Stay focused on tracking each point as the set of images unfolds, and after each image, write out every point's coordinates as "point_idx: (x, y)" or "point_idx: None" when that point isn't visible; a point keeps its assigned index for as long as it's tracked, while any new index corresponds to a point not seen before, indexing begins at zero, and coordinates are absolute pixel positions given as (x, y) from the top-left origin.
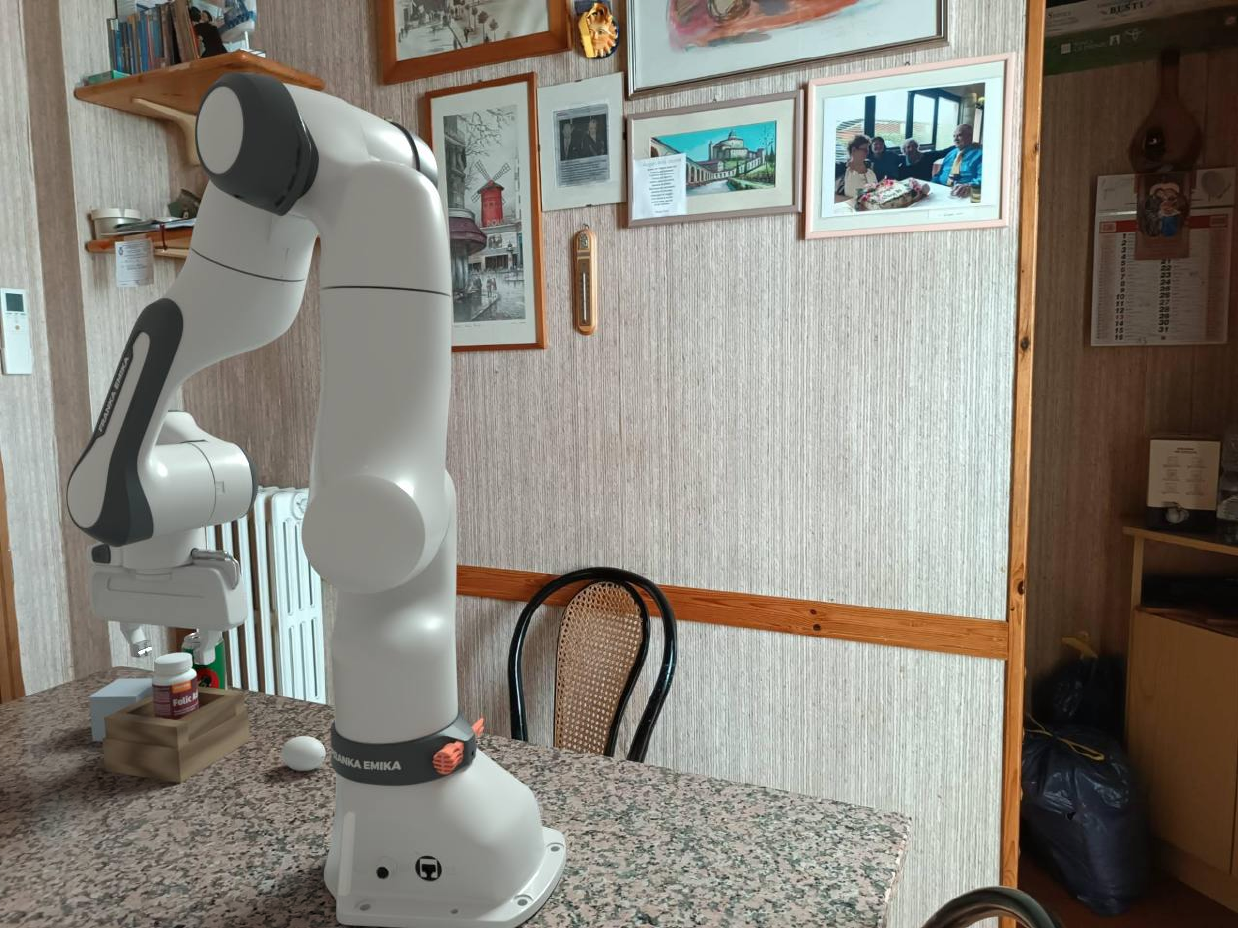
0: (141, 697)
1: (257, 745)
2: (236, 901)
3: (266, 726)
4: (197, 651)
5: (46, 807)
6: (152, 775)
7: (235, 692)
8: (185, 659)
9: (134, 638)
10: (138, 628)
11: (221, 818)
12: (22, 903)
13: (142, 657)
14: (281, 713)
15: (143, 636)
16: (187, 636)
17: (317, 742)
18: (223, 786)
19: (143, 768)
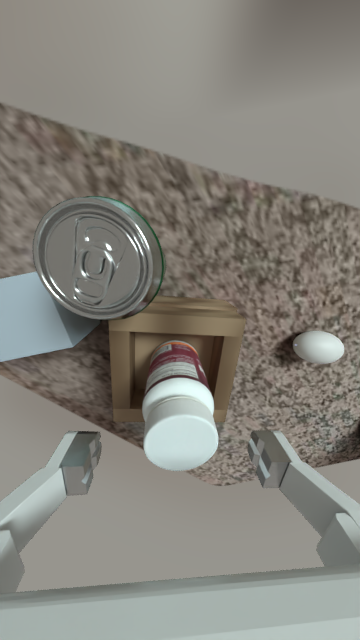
0: (72, 331)
1: (238, 308)
2: (318, 459)
3: (222, 262)
4: (274, 486)
5: (134, 425)
6: None
7: (235, 324)
8: (216, 445)
9: (50, 508)
10: (10, 524)
11: (272, 409)
12: (212, 481)
13: (100, 448)
14: (220, 219)
15: (49, 481)
16: (46, 278)
17: (343, 350)
18: (249, 377)
19: None
